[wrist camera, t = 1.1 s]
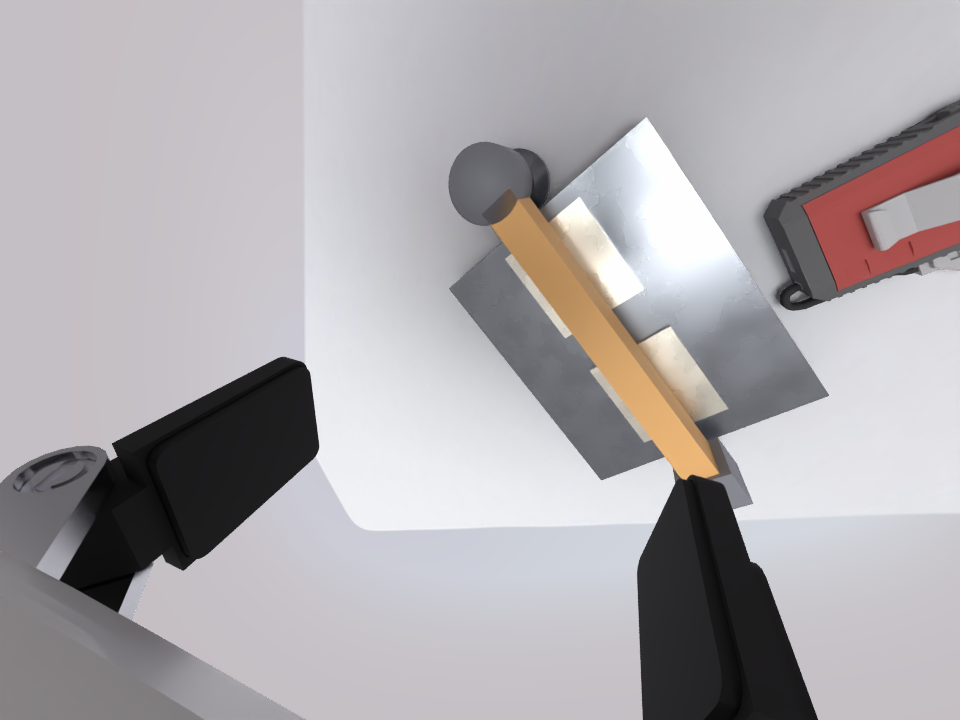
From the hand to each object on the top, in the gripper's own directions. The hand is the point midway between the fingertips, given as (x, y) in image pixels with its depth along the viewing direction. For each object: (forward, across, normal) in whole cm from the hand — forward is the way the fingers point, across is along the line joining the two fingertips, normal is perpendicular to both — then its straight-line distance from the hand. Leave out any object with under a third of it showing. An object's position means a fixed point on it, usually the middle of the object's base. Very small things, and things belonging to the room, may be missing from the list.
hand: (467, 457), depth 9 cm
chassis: (+22, -4, +3) cm, 22 cm away
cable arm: (+17, -3, +2) cm, 17 cm away
